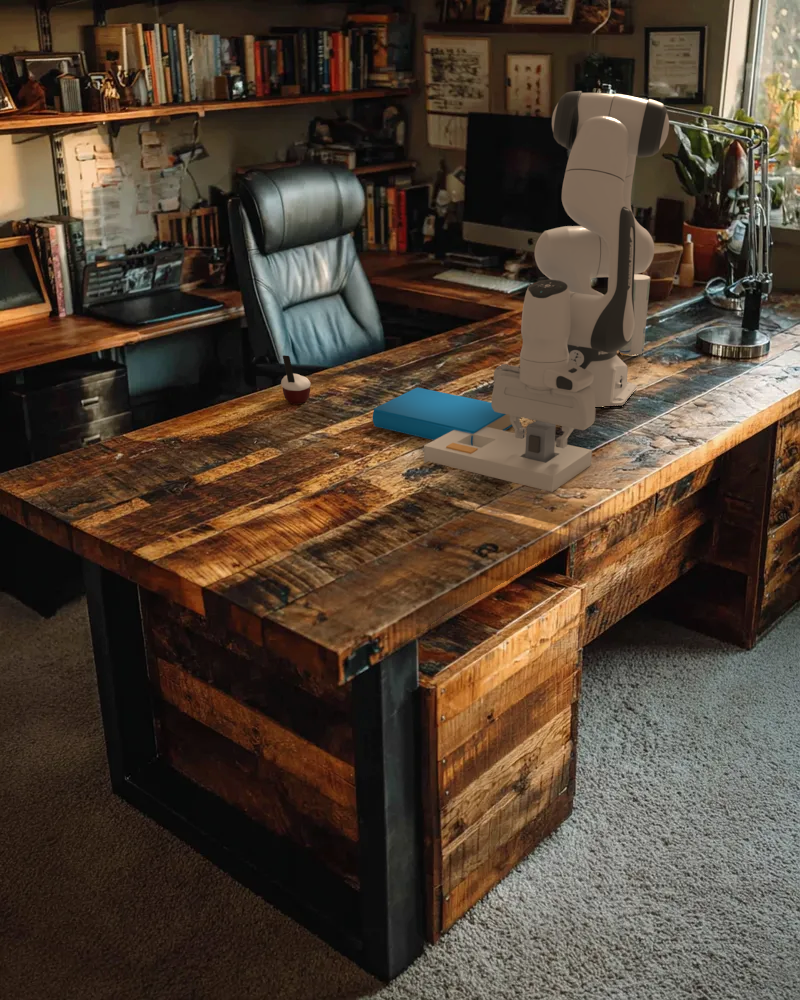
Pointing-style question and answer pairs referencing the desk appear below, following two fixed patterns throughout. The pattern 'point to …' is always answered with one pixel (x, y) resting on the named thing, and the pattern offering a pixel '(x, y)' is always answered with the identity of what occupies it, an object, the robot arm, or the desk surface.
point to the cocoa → (294, 385)
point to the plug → (540, 441)
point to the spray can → (638, 315)
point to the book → (437, 414)
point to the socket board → (506, 458)
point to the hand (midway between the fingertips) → (540, 442)
